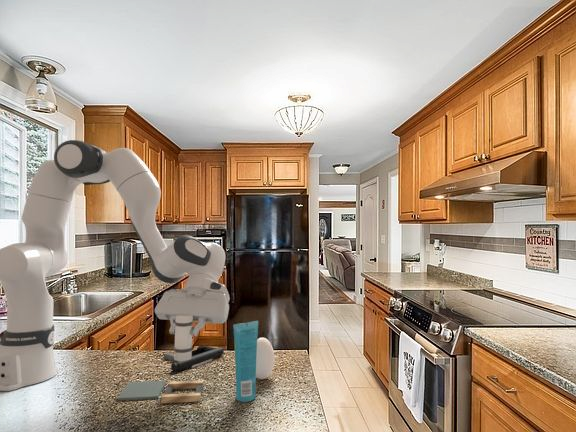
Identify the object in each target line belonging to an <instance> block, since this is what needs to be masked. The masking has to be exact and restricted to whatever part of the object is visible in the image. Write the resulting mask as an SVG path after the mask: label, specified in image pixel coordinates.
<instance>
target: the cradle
mask: <svg viewBox="0 0 576 432" xmlns="http://www.w3.org/2000/svg"><path fill="white" fill-rule="evenodd" d="M204 381H205V380H203V379H201V380H183V381H182V380H181V381H180V380H178V381H168V383H167V386H166V388H165V391H164V393H163V394H162V395H161V400H160V402H161V403H160V404H177V403H191V402H192V403H194V402H195V403H196V402H198V403H199V402H201V398H202V395H203V389H204V385H205V383H204ZM192 389H195V392H190V393H189V392H188V393H187V392H186V393H173V391H174V390H192Z"/></svg>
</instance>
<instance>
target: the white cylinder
mask: <svg viewBox="0 0 576 432" xmlns="http://www.w3.org/2000/svg"><path fill="white" fill-rule="evenodd" d="M193 325H194V322H193V315H186V314H180V315H176V321H175V334H174V346H173V352H174V353H173V354H174V360H176V361H186V360H189V359H191V357H192V351H193V336H191V334H190V330H191V328H192V327H194V326H193Z"/></svg>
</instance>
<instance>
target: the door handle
mask: <svg viewBox="0 0 576 432" xmlns="http://www.w3.org/2000/svg"><path fill="white" fill-rule="evenodd" d="M224 352H225V351H224V349H223V347H213V346H207V345H199V346H198V347H197V348H196V349H194V350H192V357H191V359H189V360H186V361H176V360H174V353H171V352H165V353H163V359H165V358H166V360H169V361H171V362H173V363H171V365H170V367H171V371H172V372H175V373H176V372H180V371H183V370H187V369H189V368H196V367H198V366H200V365H205V364H206V363H210V362H212V361H213V360H214V359H218V358H220V357H222V356H223V355H224V354H225V353H224Z"/></svg>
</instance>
